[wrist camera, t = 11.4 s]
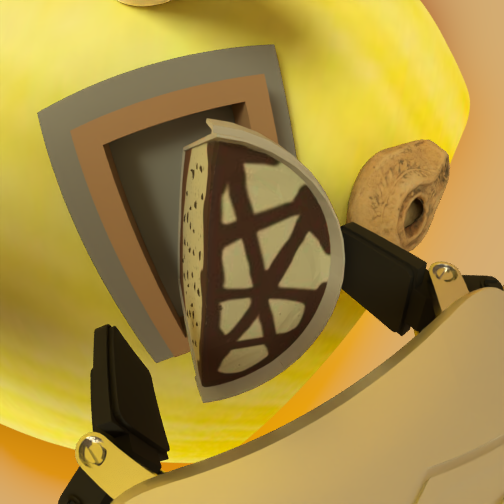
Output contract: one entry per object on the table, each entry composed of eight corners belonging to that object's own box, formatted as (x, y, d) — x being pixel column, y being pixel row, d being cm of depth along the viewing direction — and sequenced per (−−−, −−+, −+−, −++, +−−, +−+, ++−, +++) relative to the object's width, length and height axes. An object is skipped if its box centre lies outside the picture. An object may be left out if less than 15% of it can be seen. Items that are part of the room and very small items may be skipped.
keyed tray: (154, 355, 23) (160, 383, 20) (42, 113, 11) (22, 111, 8) (307, 290, 26) (327, 310, 24) (267, 47, 15) (292, 35, 12)
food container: (254, 291, 22) (313, 385, 13) (178, 296, 20) (202, 408, 11) (277, 133, 17) (386, 149, 9) (185, 124, 15) (219, 114, 6)
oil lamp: (423, 163, 26) (479, 182, 20) (362, 267, 29) (413, 305, 22) (382, 96, 20) (453, 102, 14) (301, 222, 23) (366, 265, 16)
